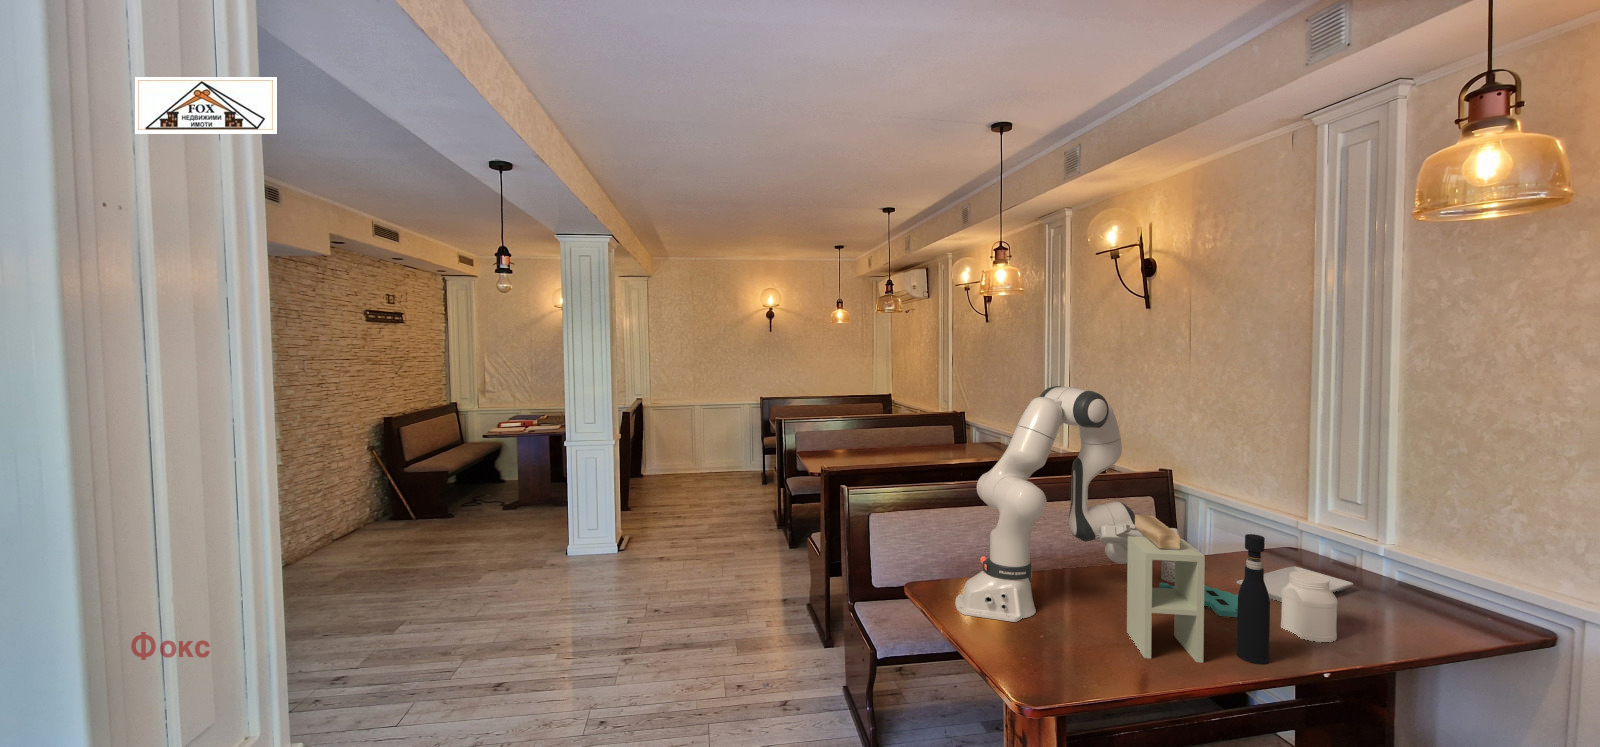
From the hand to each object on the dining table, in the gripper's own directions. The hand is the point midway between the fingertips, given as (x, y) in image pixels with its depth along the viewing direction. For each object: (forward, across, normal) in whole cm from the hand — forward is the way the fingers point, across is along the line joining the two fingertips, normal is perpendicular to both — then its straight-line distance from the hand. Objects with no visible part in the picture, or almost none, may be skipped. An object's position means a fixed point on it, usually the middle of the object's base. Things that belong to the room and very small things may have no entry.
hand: (1146, 528), depth 173 cm
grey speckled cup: (-47, +20, +4) cm, 51 cm away
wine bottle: (0, +19, +31) cm, 37 cm away
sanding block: (+6, 0, +4) cm, 7 cm away
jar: (-15, +40, +22) cm, 48 cm away
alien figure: (-30, +23, +14) cm, 40 cm away
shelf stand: (-2, 0, +30) cm, 30 cm away
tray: (-41, +52, +7) cm, 67 cm away
